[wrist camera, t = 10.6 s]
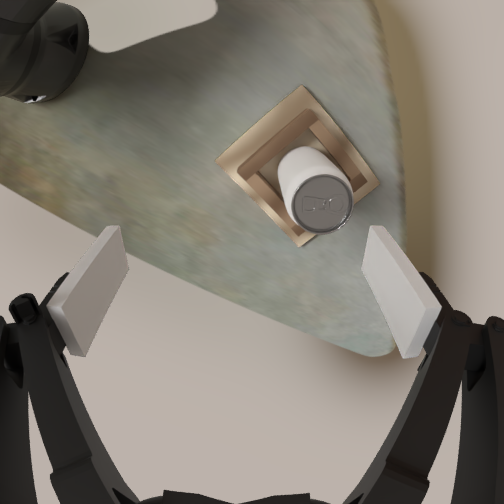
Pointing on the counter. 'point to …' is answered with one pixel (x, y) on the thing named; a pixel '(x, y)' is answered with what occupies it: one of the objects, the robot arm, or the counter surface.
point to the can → (314, 191)
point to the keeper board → (283, 140)
